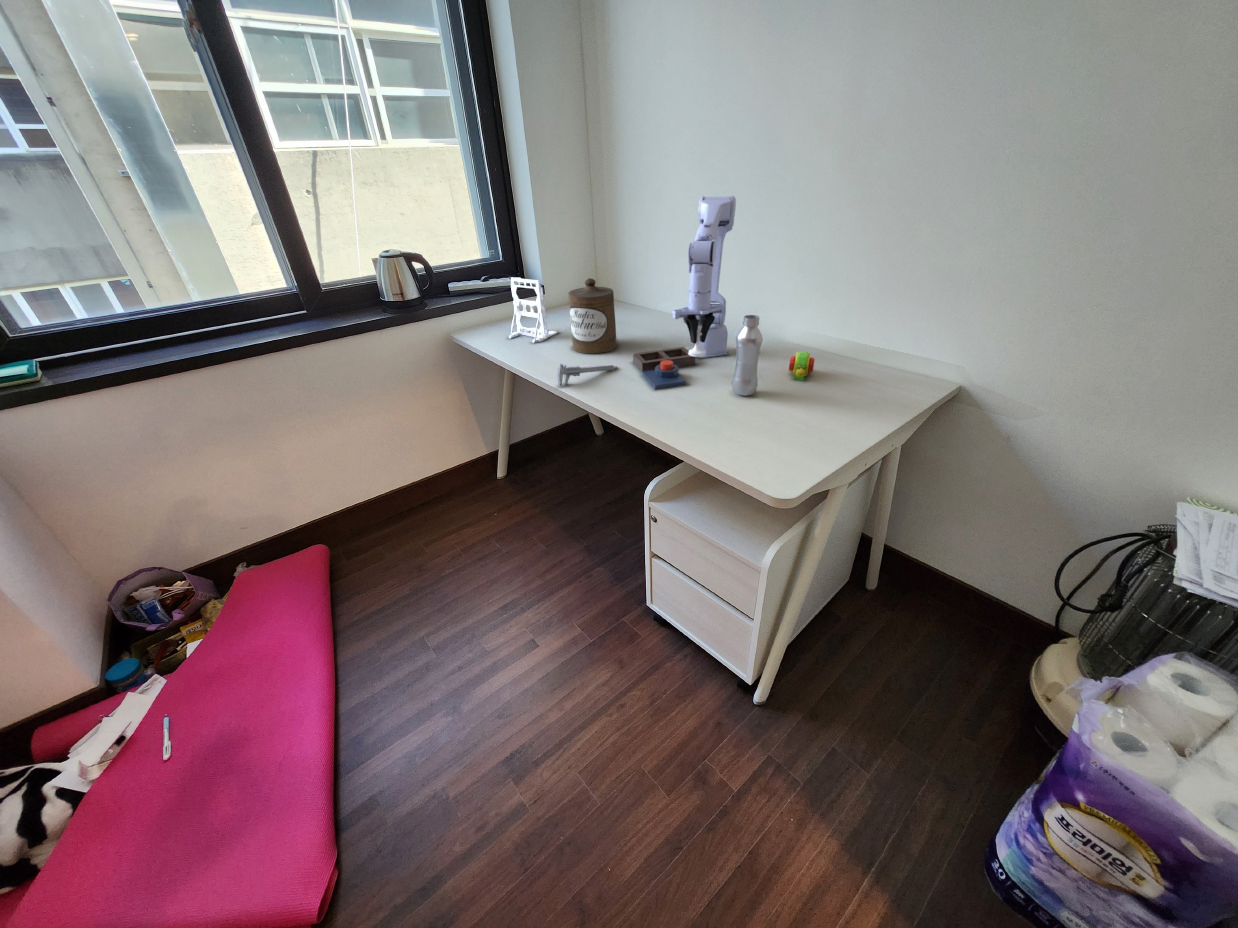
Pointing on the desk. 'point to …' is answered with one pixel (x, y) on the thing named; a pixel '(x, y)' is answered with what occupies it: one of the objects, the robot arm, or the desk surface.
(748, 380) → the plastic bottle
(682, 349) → the holder
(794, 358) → the green wheeled toy
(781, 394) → the desk surface
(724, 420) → the desk surface
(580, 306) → the wooden container
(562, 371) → the caliper
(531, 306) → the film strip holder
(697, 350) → the chess piece
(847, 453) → the desk surface
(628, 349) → the desk surface
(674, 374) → the station
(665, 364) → the station button
